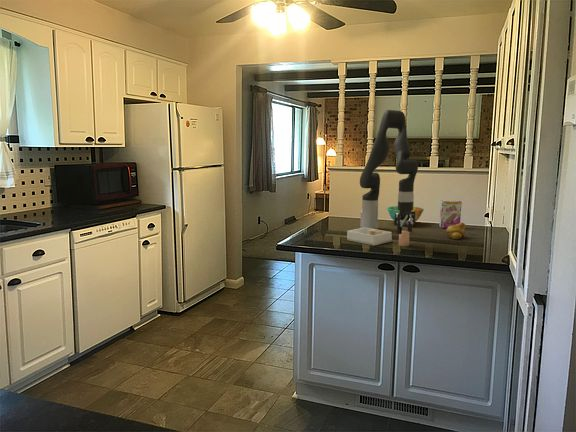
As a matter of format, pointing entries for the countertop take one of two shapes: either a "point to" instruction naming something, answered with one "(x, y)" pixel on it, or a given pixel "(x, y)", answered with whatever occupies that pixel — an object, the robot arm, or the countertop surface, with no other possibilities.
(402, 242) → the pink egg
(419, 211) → the bowl
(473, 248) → the countertop surface
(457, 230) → the bread roll
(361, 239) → the tote
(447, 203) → the candy bar box
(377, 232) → the birch cube
